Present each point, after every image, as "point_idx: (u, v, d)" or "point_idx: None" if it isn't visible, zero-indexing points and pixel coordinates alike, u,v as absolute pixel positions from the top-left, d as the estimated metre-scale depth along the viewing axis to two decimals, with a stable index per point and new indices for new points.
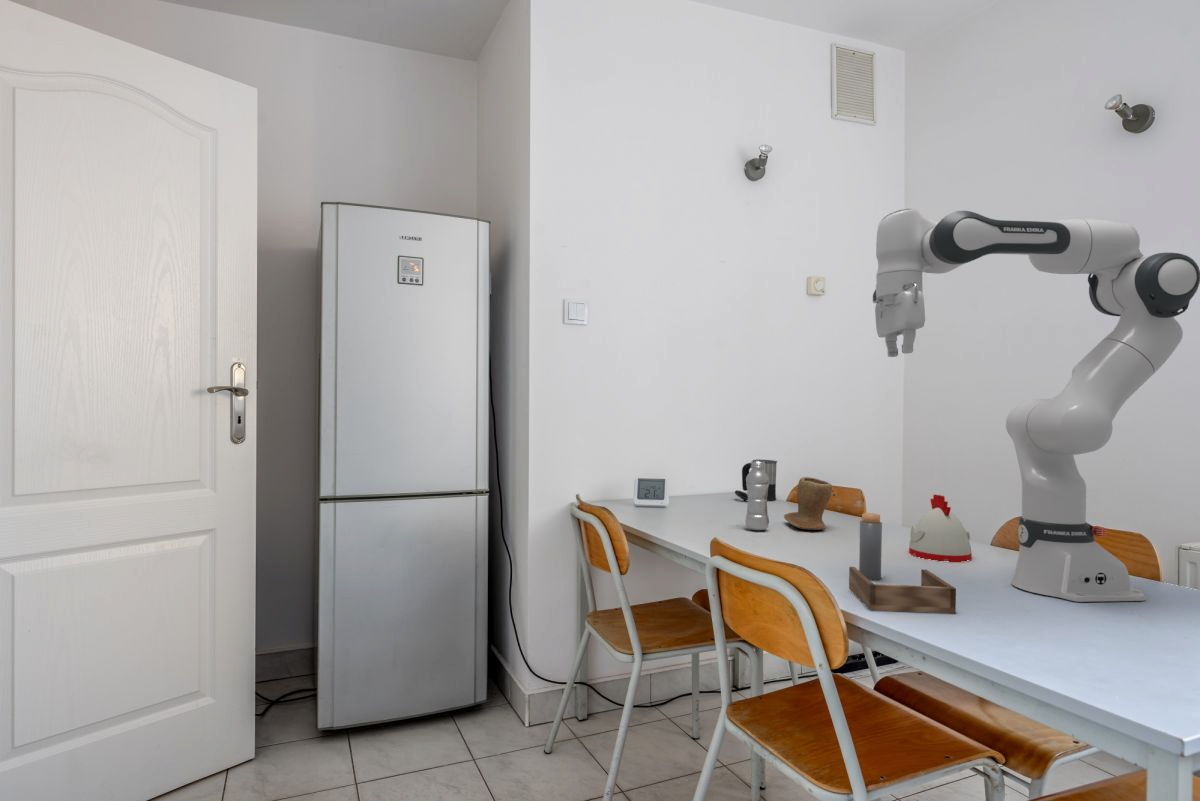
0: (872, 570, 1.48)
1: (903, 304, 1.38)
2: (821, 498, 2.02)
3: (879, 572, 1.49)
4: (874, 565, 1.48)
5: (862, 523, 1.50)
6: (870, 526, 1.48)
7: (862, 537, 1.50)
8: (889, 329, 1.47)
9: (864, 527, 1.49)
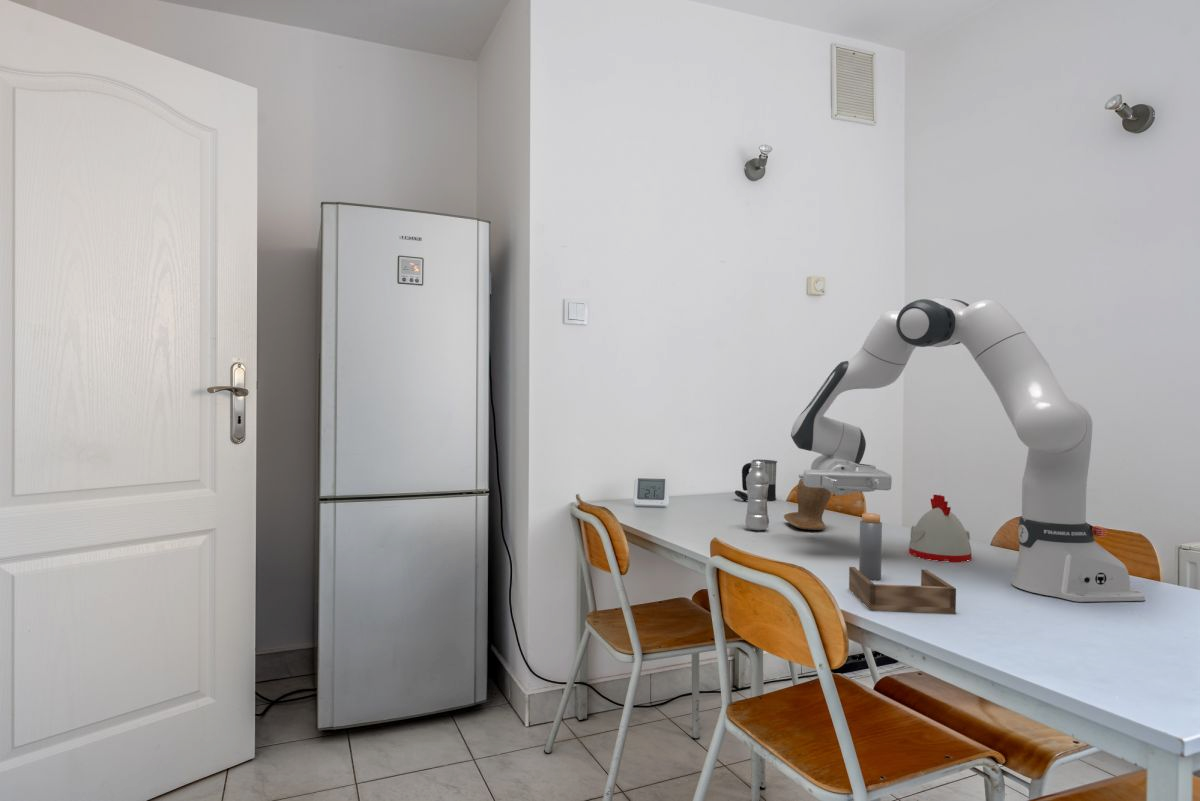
0: (872, 570, 1.48)
1: None
2: (821, 498, 2.02)
3: (879, 572, 1.49)
4: (874, 565, 1.48)
5: (862, 523, 1.50)
6: (870, 526, 1.48)
7: (862, 537, 1.50)
8: (852, 488, 1.68)
9: (864, 527, 1.49)
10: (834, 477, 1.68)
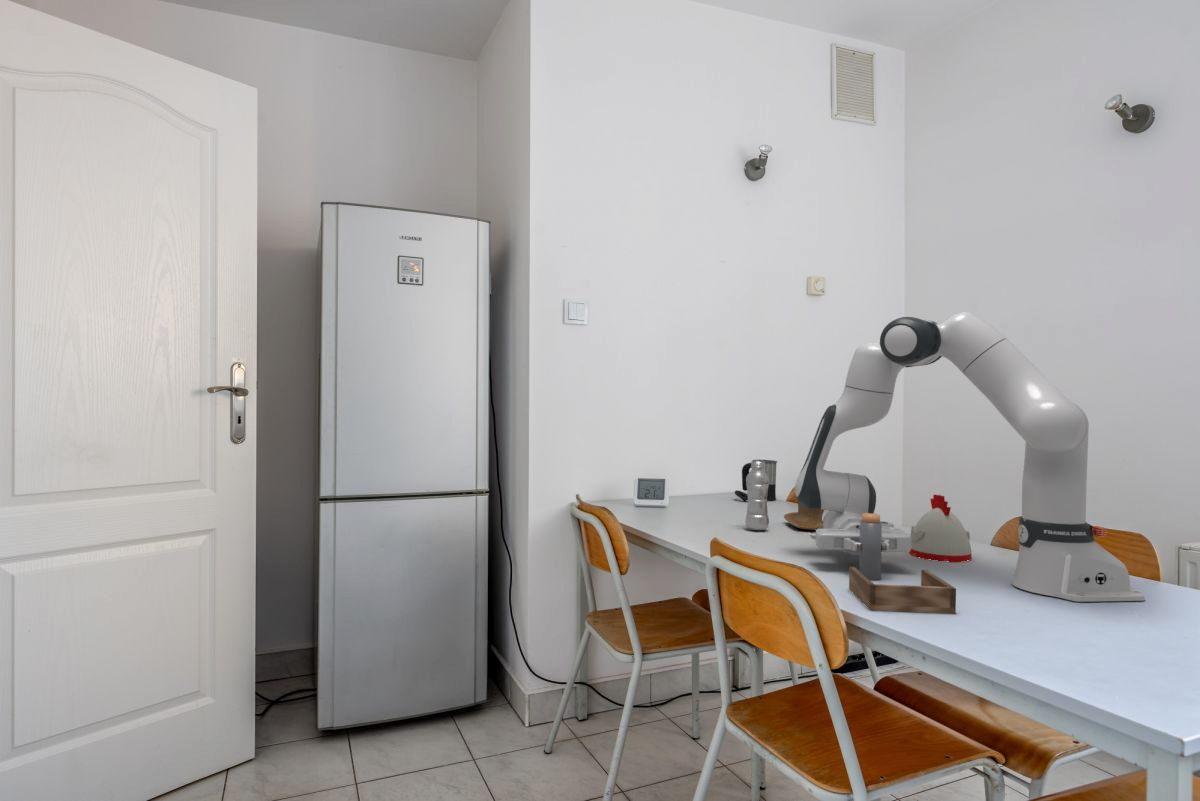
0: (872, 570, 1.48)
1: None
2: None
3: (879, 572, 1.49)
4: (874, 565, 1.48)
5: (862, 523, 1.50)
6: (870, 526, 1.48)
7: (862, 537, 1.50)
8: None
9: (864, 527, 1.49)
10: None
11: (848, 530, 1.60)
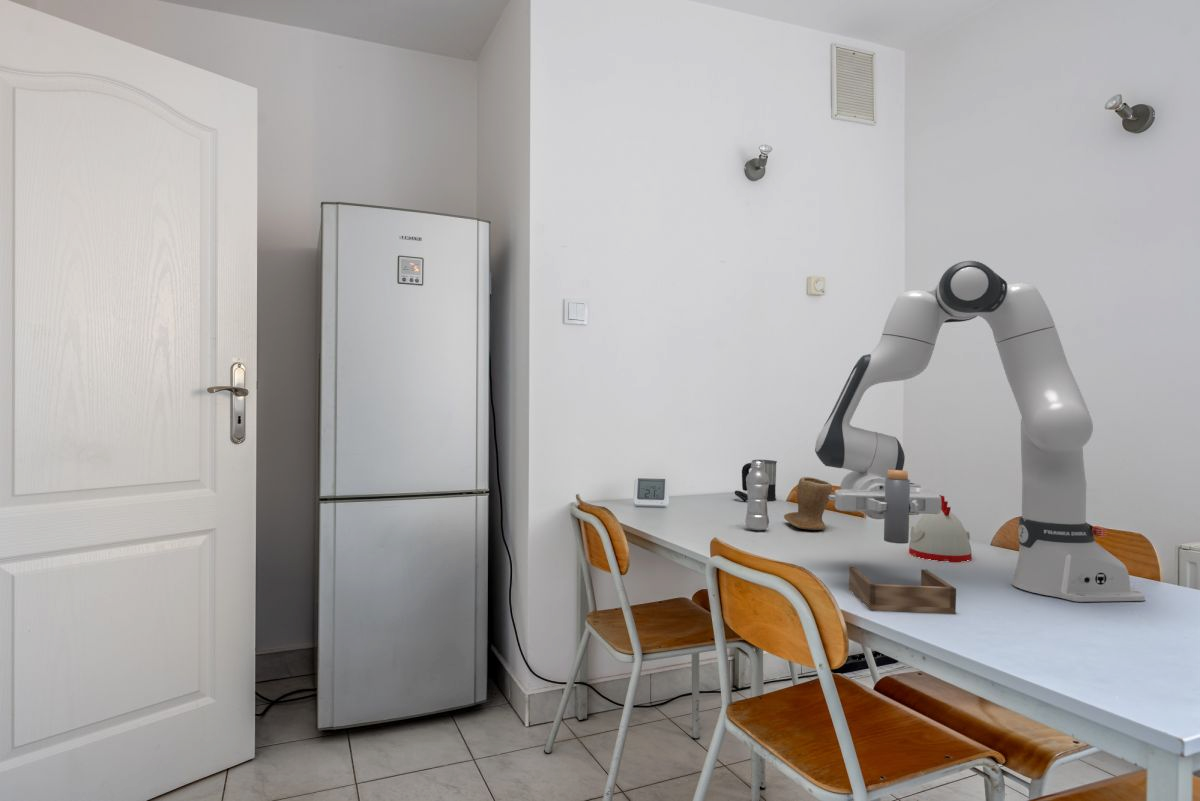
0: (899, 532, 1.33)
1: None
2: (821, 498, 2.02)
3: (907, 534, 1.34)
4: (902, 526, 1.33)
5: (888, 480, 1.35)
6: (897, 483, 1.33)
7: (888, 495, 1.35)
8: None
9: (890, 485, 1.34)
10: None
11: (871, 491, 1.45)
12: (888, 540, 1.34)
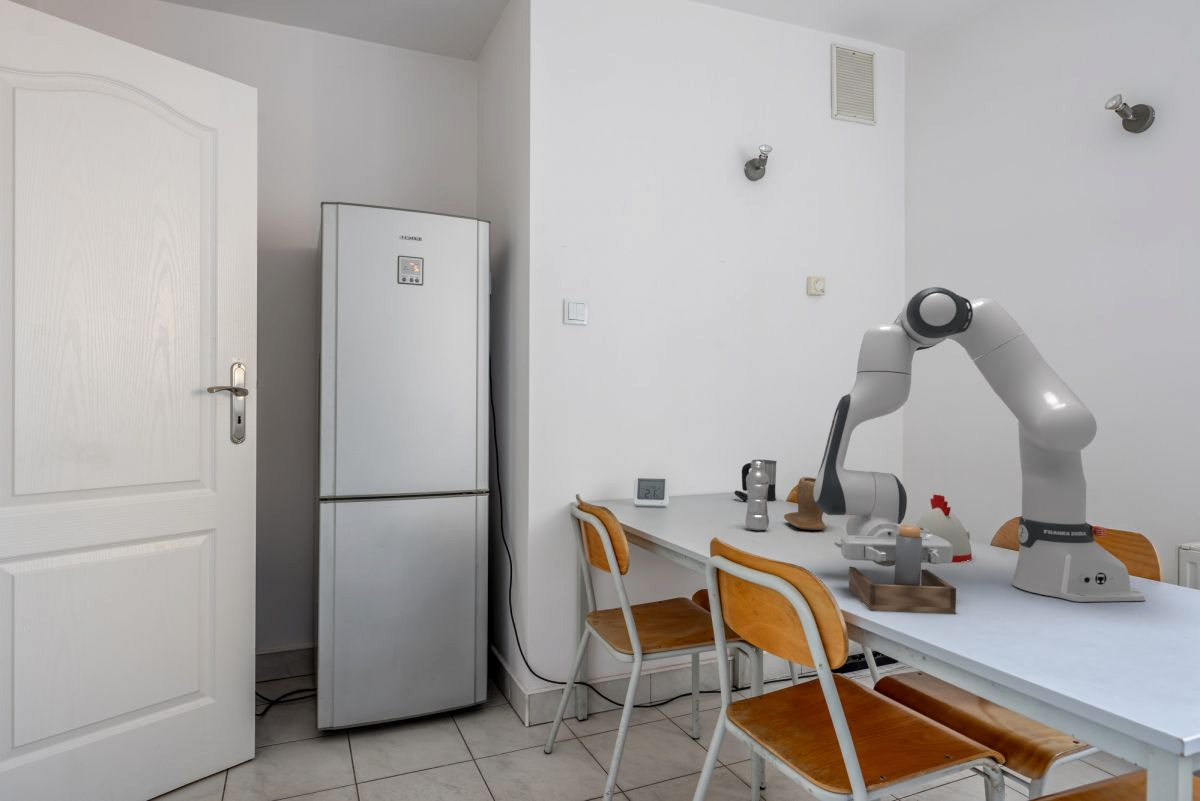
0: None
1: None
2: None
3: None
4: None
5: (899, 537, 1.29)
6: (909, 541, 1.28)
7: (899, 553, 1.29)
8: None
9: (901, 542, 1.29)
10: (880, 547, 1.35)
11: (879, 537, 1.39)
12: None
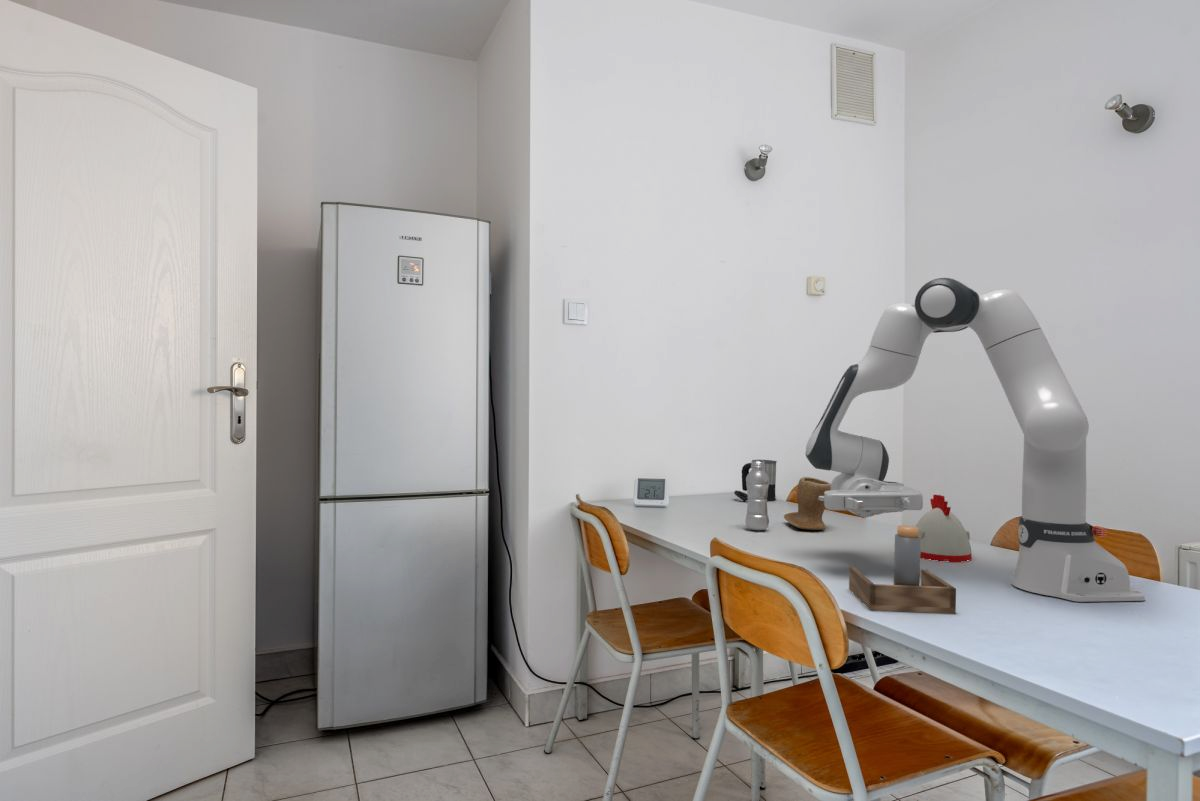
0: None
1: None
2: None
3: None
4: None
5: (898, 537, 1.29)
6: (907, 541, 1.28)
7: (898, 553, 1.29)
8: (879, 510, 1.51)
9: (900, 542, 1.29)
10: (858, 498, 1.51)
11: (857, 491, 1.56)
12: None
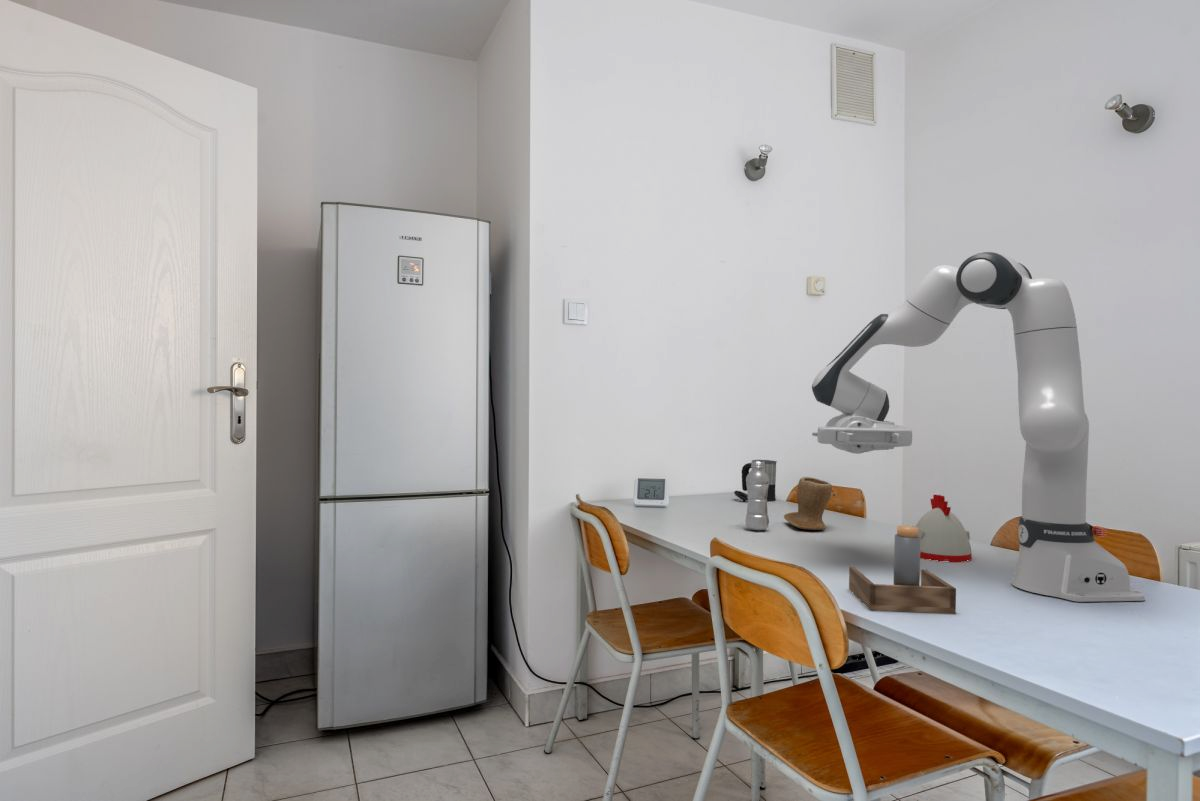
0: None
1: None
2: (821, 498, 2.02)
3: None
4: None
5: (898, 537, 1.29)
6: (907, 541, 1.28)
7: (897, 553, 1.29)
8: (870, 444, 1.57)
9: (900, 542, 1.29)
10: (850, 432, 1.57)
11: (850, 427, 1.62)
12: None
